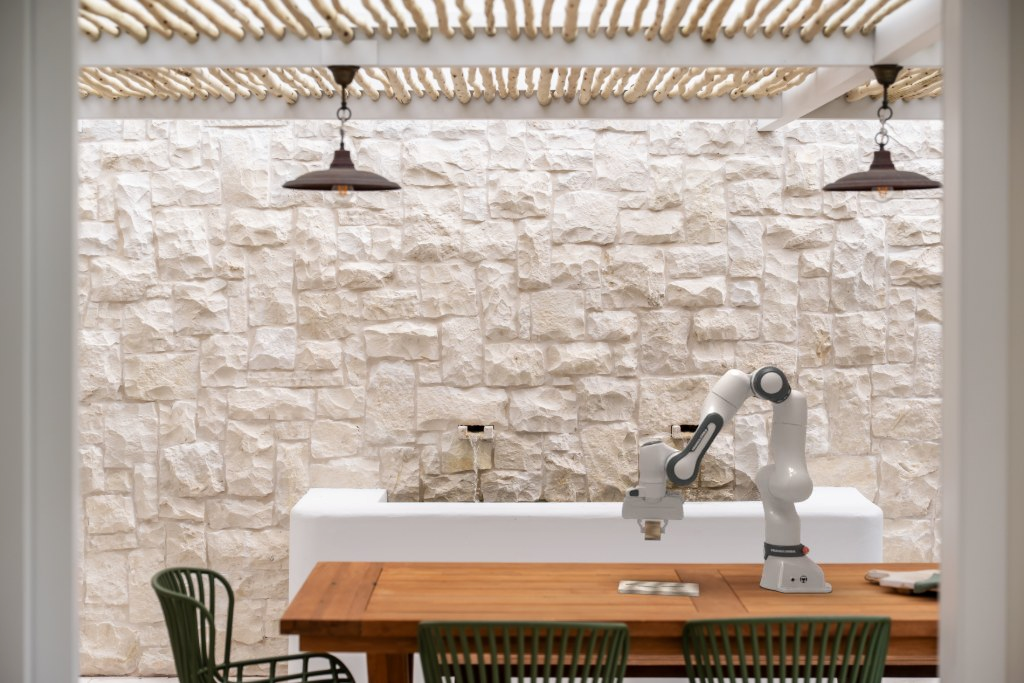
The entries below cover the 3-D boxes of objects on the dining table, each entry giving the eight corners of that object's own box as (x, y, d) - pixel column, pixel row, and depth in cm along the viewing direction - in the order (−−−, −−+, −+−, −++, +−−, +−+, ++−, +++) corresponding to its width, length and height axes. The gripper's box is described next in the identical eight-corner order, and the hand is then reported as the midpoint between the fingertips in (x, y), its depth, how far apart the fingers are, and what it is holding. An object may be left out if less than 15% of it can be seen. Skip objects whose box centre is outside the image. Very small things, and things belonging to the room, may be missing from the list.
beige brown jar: (660, 535, 368) (660, 520, 368) (660, 540, 359) (660, 525, 359) (645, 535, 368) (645, 520, 368) (644, 540, 359) (644, 524, 359)
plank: (698, 587, 356) (698, 583, 356) (699, 596, 344) (699, 592, 344) (620, 584, 360) (620, 580, 360) (618, 593, 347) (618, 588, 347)
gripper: (684, 489, 365) (684, 531, 365) (622, 488, 368) (622, 530, 368) (684, 492, 359) (684, 535, 359) (621, 491, 362) (621, 534, 362)
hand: (652, 532), depth 364 cm, fingers closed on beige brown jar, 5 cm apart
